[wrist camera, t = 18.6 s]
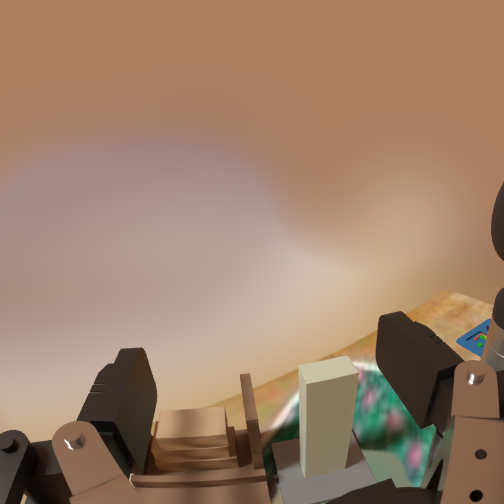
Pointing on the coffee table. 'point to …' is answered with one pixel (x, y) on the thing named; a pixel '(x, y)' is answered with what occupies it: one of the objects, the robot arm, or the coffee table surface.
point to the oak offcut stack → (194, 441)
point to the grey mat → (320, 487)
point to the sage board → (326, 414)
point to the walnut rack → (212, 471)
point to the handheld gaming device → (475, 338)
